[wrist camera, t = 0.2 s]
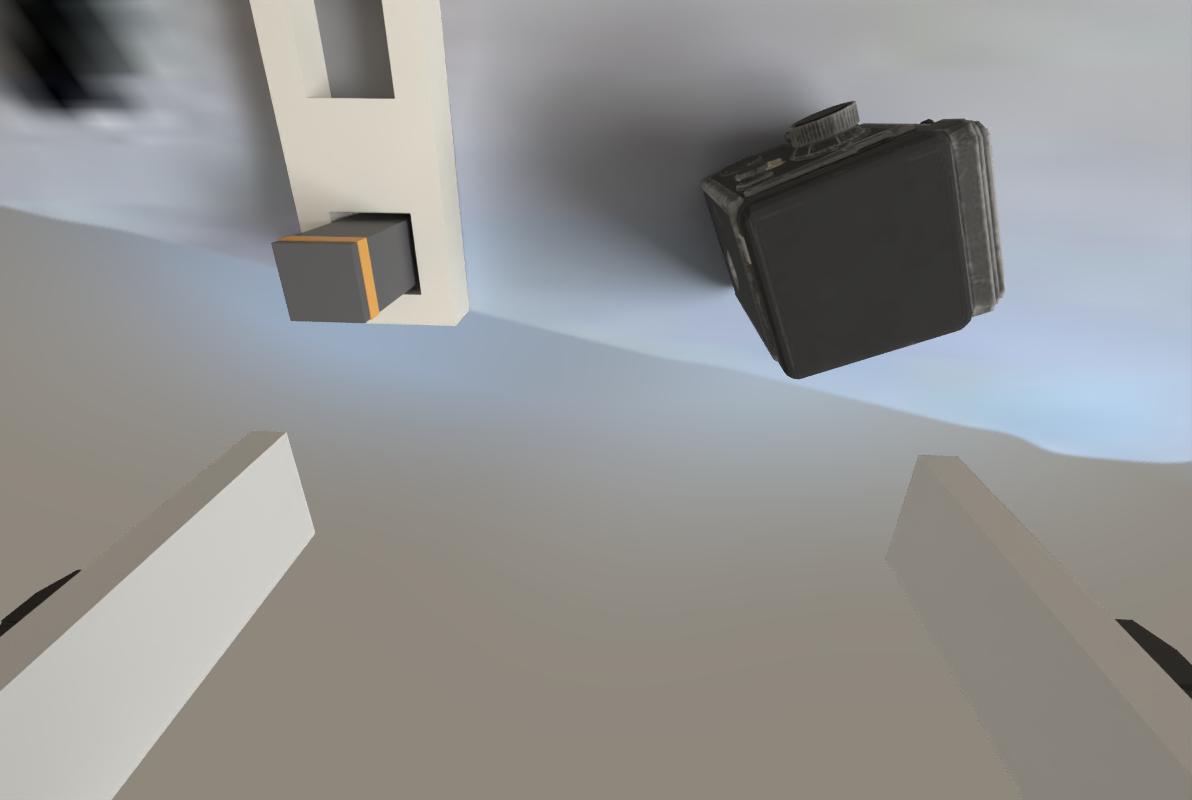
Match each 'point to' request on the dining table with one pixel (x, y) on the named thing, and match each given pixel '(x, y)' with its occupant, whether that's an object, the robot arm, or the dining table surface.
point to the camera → (860, 236)
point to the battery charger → (365, 160)
